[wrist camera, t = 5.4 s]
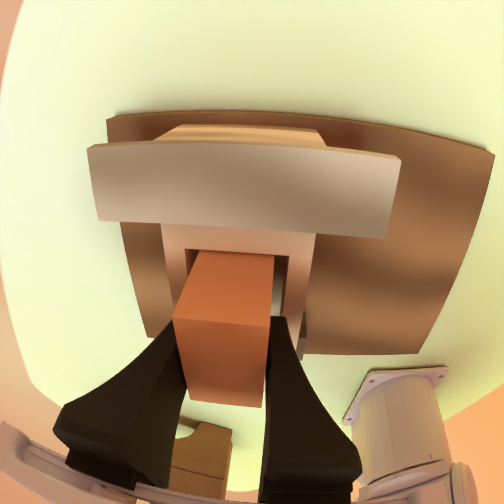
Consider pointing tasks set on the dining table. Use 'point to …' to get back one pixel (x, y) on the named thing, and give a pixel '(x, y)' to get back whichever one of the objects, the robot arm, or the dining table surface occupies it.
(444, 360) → the dining table surface
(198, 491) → the wooden toy
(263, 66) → the dining table surface
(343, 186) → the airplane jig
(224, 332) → the orange upright block
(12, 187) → the dining table surface
